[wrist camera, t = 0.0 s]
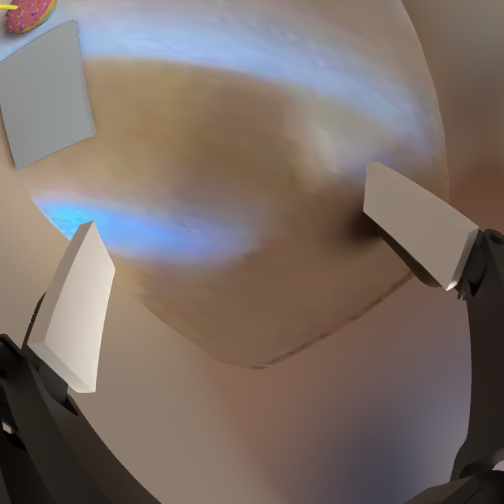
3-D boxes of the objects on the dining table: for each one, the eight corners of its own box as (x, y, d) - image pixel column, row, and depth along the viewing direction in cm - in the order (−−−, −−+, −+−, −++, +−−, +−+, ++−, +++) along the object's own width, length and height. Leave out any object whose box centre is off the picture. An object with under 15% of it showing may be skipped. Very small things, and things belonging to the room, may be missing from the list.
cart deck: (5, 66, 18) (-5, 66, 15) (80, 23, 20) (72, 19, 17) (26, 164, 29) (17, 171, 26) (98, 132, 30) (92, 136, 28)
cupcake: (23, 46, 18) (-22, 42, 8) (19, 8, 12) (-21, -3, 3) (70, 16, 18) (33, -2, 9) (66, -22, 13) (34, -46, 4)
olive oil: (414, 212, 53) (491, 279, 33) (385, 245, 57) (455, 321, 37) (395, 185, 48) (488, 256, 28) (363, 223, 51) (445, 308, 31)
